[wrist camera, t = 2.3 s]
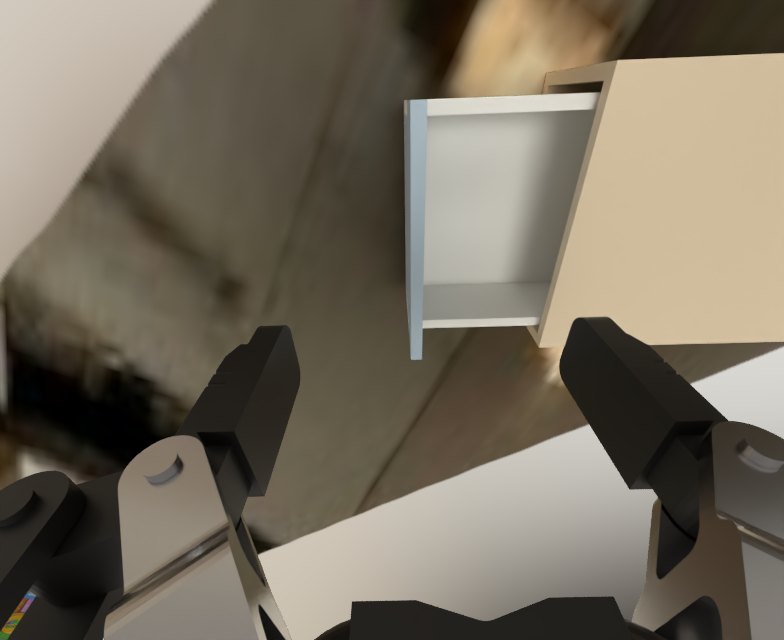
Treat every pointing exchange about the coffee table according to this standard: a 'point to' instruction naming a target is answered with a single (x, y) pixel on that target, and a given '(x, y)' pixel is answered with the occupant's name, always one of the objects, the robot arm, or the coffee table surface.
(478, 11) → the coffee table surface
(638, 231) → the sleeve
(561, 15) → the coffee table surface
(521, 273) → the inner tray
